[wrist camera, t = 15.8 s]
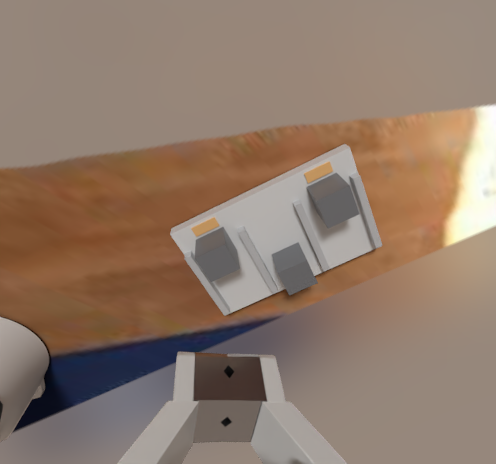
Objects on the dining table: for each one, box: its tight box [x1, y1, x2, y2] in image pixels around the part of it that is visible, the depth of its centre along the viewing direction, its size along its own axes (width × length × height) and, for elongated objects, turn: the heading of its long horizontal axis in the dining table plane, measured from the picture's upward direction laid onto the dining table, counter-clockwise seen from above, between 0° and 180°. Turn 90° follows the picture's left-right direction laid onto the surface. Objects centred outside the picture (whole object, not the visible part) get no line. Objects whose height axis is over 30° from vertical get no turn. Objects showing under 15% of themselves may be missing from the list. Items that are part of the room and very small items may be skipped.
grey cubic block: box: [272, 242, 318, 295], centre depth 41 cm, size 4×4×4 cm
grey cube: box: [307, 173, 359, 228], centre depth 37 cm, size 4×4×4 cm
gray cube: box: [195, 227, 240, 282], centre depth 39 cm, size 4×4×4 cm
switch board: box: [170, 144, 382, 316], centre depth 41 cm, size 22×14×3 cm, turn 116°
